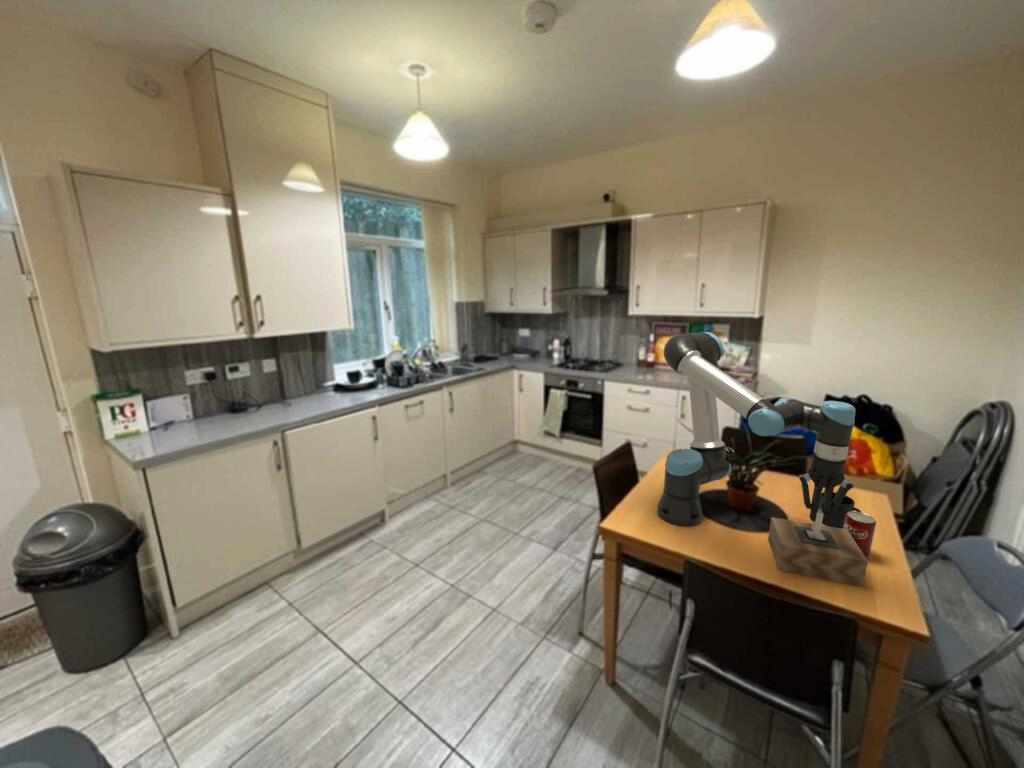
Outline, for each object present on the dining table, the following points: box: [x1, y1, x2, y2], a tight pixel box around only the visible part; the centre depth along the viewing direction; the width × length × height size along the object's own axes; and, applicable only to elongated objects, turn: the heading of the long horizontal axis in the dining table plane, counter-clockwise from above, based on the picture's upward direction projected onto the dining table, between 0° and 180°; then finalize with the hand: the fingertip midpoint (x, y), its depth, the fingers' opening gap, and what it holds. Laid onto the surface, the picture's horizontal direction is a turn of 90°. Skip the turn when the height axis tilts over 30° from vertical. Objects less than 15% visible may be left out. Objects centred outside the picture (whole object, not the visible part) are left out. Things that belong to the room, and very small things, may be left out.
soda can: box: [843, 510, 877, 558], centre depth 130 cm, size 7×7×12 cm
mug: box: [818, 491, 862, 529], centre depth 146 cm, size 9×12×9 cm
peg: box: [806, 530, 826, 542], centre depth 126 cm, size 4×4×8 cm
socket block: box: [767, 516, 869, 587], centre depth 126 cm, size 20×16×8 cm
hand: (815, 530), depth 125 cm, fingers closed
